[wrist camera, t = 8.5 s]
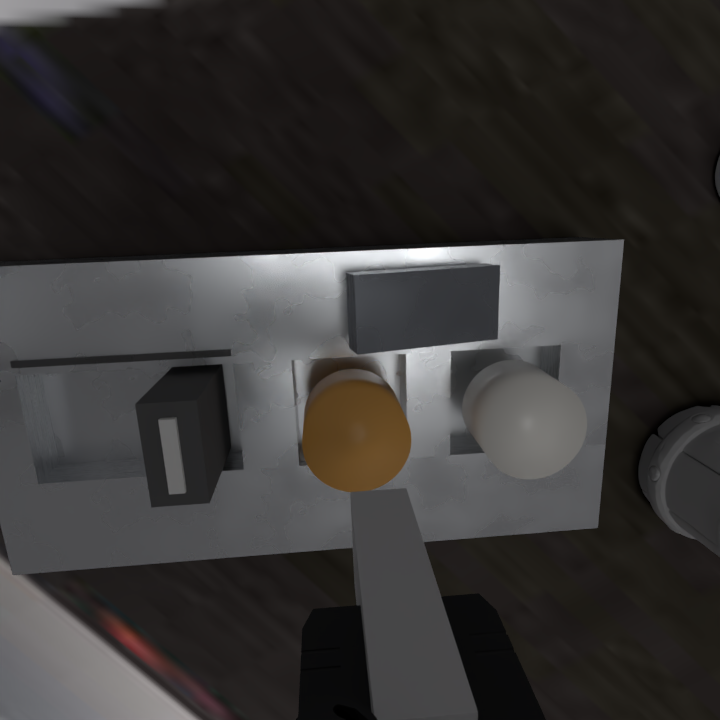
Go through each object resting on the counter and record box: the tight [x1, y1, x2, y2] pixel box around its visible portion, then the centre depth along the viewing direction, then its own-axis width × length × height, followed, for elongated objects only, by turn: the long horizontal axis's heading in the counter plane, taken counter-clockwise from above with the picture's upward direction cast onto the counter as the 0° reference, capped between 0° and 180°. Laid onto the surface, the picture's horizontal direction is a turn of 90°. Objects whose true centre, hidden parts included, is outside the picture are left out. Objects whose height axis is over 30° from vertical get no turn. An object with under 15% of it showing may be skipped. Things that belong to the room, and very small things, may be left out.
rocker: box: [346, 263, 500, 355], centre depth 21 cm, size 6×3×1 cm, turn 92°
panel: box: [0, 237, 624, 575], centre depth 25 cm, size 28×14×5 cm, turn 92°
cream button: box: [462, 360, 587, 479], centre depth 22 cm, size 4×4×3 cm
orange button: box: [302, 369, 411, 492], centre depth 21 cm, size 4×4×3 cm
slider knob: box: [135, 364, 231, 508], centre depth 22 cm, size 2×4×5 cm, turn 2°
